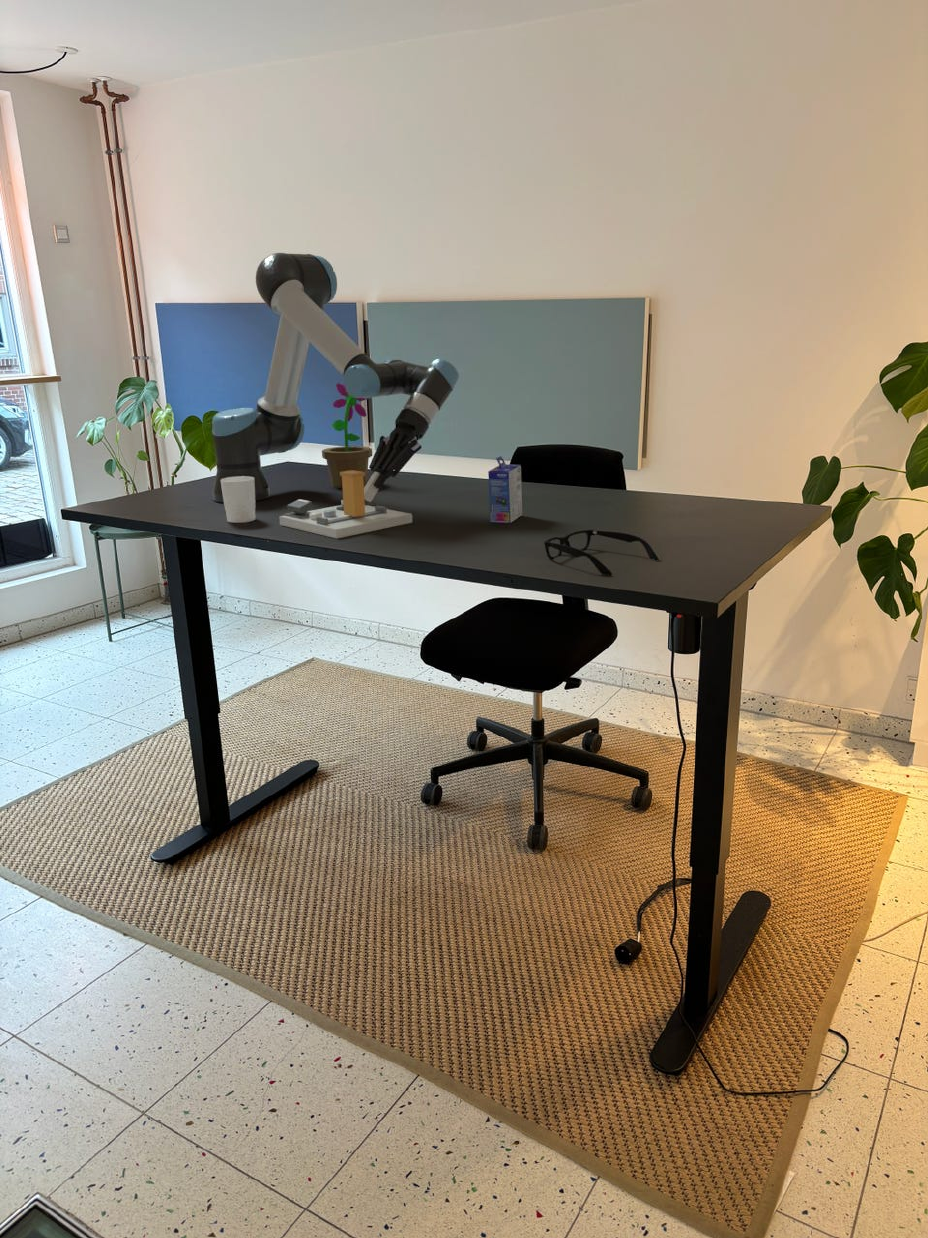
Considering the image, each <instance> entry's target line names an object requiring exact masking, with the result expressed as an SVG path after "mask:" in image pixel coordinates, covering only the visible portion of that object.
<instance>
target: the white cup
mask: <svg viewBox="0 0 928 1238" xmlns="http://www.w3.org/2000/svg"><path fill="white" fill-rule="evenodd" d="M220 481H221V487H222V494H223V500H224V502H223V505H224V510H225V514H226V521H227V522H229V523H236V524H237V523H239V524H242V523H249V522H253V521H255V520H256V501H255V481H254V477H249V476H237V477H228V478H223V479H221V480H220Z"/></svg>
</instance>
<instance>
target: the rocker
mask: <svg viewBox="0 0 928 1238" xmlns="http://www.w3.org/2000/svg"><path fill="white" fill-rule="evenodd" d="M286 506H287V510H288V511H289V512H297V513H303V512H305V511H310V509H313V508H314V505H313V502H312V501H311V500H307V499H306V500H305V499H300V498H299V499H296V500H295V501H293V502H290V503H289V504H287V505H286Z"/></svg>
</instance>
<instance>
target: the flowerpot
mask: <svg viewBox="0 0 928 1238" xmlns="http://www.w3.org/2000/svg"><path fill="white" fill-rule="evenodd" d="M335 386H336V390H337V392H338V393H339V394H340V395H341V396H343V397H345V399H344V398H339V399H336V400H335V401H334V402H333V403H332V405H333V407H334V408H337V409H340V408H343V407H345V409H344V410H345V411H344V420H341V419H337V420H334V422H332V426H331V427H332V428H333V429H334V430H335V431H337V432H341V431H343V432H344V433H343V434H344V435H343V436H344V446H334V447H327V448H323V449H322V450H321V457H322V459H324V460H326V465H327V470H328V476H329V481H330V485H331V487H333V488H338V489H343V486H342V476H340V472H344V471H350V470H354V471H361V472H365V476H363V481H364V487H365V486H366V484H367V481H368V475H369V474H368V473H369V459H370V458H371V457H372V456H373V448H371V447H368V446H358V445H357V446H353V445H352V446H349V442H356V441H359V440H360V439H361V438H360V436H359V435H357V434H353V433H349V432H348V425H349V424H348V422H351V419H352V418H353V416H354V411H355V412H356V413H357V414H358V415H359V416H361V417H363V418H365V417H367V412H366V409H365V408H364V407H363V406H362V404H360V403H357V401H359V402H363V401H366V400H368V399H369V398H355V397H352V396H351V395H349V394H348V392H347V391H346V388H345V386H344V384H342V383H340V382H337V383H336V385H335ZM353 407H354V409H353Z"/></svg>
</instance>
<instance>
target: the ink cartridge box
mask: <svg viewBox="0 0 928 1238" xmlns="http://www.w3.org/2000/svg"><path fill="white" fill-rule="evenodd" d="M495 458H496V459H495V460H496V461H497V463H498V465H497V466H495V467H494V468H493V469H489V470H488V473H487V474H488V498H489V499H488V501H489V515H490V517H489V518H490V523H499V524H512V523H513V522H514V521H516V520H518V518H519V517H521V516H523V501H522V500H523V498H522V497H523V496H522V467H521V466H522V465H521V464H507V463H506V462H505V460H504V459H503V456H498V457H495ZM501 461H502V462H501Z"/></svg>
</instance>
